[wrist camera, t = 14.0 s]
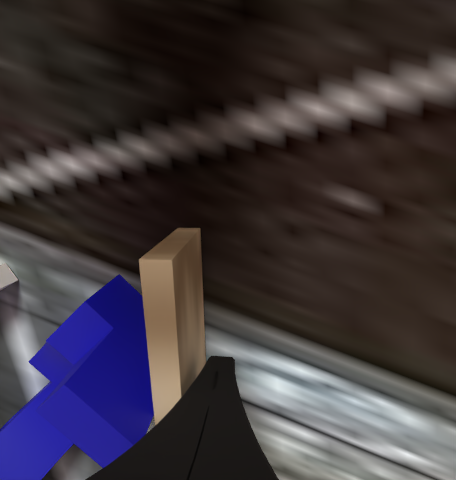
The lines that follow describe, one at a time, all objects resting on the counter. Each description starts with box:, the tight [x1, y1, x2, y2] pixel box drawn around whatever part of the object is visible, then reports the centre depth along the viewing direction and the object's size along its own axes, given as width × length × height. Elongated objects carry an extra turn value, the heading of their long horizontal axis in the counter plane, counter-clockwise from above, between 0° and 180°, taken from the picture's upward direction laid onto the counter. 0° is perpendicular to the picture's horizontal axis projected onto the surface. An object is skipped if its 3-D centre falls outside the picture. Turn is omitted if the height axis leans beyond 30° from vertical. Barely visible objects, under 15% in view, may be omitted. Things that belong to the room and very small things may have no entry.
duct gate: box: [139, 228, 206, 426], centre depth 13 cm, size 16×1×4 cm, turn 1°
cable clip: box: [0, 274, 154, 480], centre depth 13 cm, size 12×4×6 cm, turn 134°
